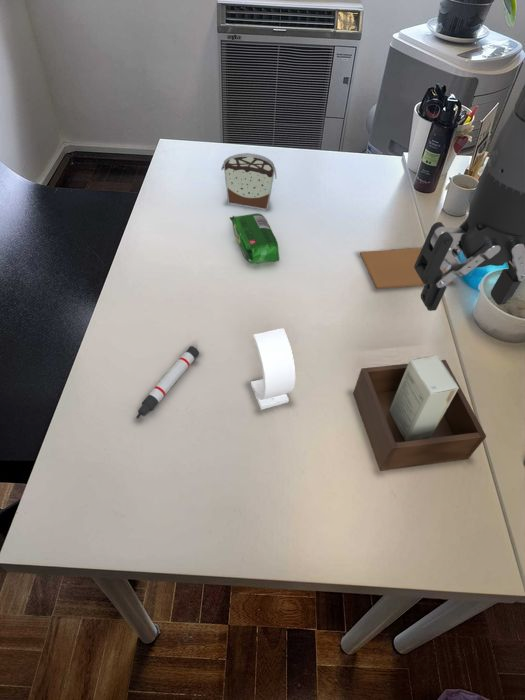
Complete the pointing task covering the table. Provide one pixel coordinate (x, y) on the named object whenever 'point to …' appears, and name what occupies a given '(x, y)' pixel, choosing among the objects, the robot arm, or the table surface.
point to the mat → (393, 267)
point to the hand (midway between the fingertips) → (463, 302)
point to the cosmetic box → (422, 397)
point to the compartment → (385, 438)
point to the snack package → (255, 238)
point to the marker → (168, 381)
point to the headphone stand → (274, 368)
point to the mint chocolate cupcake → (249, 180)
